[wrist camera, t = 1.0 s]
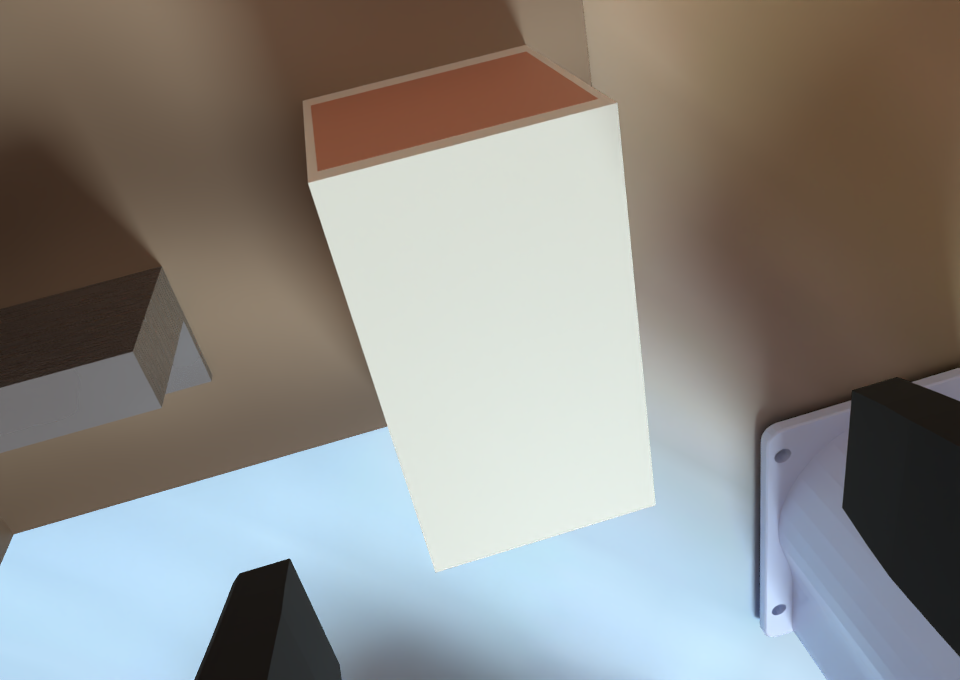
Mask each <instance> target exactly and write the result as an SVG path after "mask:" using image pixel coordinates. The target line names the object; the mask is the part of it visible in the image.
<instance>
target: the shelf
mask: <svg viewBox="0 0 960 680" xmlns="http://www.w3.org/2000/svg"><path fill="white" fill-rule="evenodd" d="M523 45H527V46H528V47H530V48H531V49H533V50H534V51H536V52H538V53H539V54H541V55H542V56H544V57H546V58H547V59H549V60H550V61H552V62H554V63H555V64H557V65H558V66H560V67H561V68H563V69H565V70H566V71H568V72H569V73H571V74H573V75H574V76H576V77H577V78H579V79H580V80H582V81H584V82H585V83H587V84H588V85H590V86H592V82H591V73H590V64H589V55H588V47H587V38H586V29H585V20H584V11H583V2H582V0H0V309H2V308H6V307H9V306H13V305H17V304H21V303H25V302H28V301H32V300H36V299H40V298H43V297H47V296H51V295H55V294H59V293H62V292H66V291H70V290H74V289H77V288H81V287H85V286H89V285H93V284H96V283H100V282H104V281H108V280H112V279H115V278H119V277H123V276H127V275H130V274H134V273H138V272H142V271H146V270H149V269H153V268H157V267H161V266H162V267H163V270H164V272H165V274H166V276H167V278H168V280H169V283H170V285H171V287H172V289H173V291H174V293H175V296H176V298H177V300H178V302H179V304H180V306H181V308H182V311H183V313H184V315H185V317H186V319H187V321H188V324H189V326H190V328H191V330H192V332H193V334H194V337H195V339H196V341H197V343H198V345H199V347H200V350H201V352H202V354H203V356H204V358H205V360H206V362H207V365H208V367H209V369H210V371H211V373H212V375H213V376H212V381H211V382H208V383H204V384H200V385H197V386H193V387H190V388H186V389H183V390H179V391H175V392H172V393H168V394H165V397H164V401H163V405H162V408H160V409H156V410H153V411H149V412H145V413H142V414H138V415H135V416H131V417H128V418H124V419H120V420H117V421H113V422H110V423H106V424H103V425H99V426H95V427H92V428H88V429H85V430H81V431H78V432H74V433H70V434H67V435H63V436H60V437H56V438H53V439H49V440H45V441H42V442H38V443H35V444H31V445H28V446H24V447H20V448H17V449H13V450H10V451H6V452H3V453H0V564H1V562H2V560H3V557H4V555H5V553H6V550H7V548H8V546H9V544H10V541H11V539H12V537H13V534H16V533H20V532H23V531H27V530H30V529H34V528H37V527H40V526H44V525H47V524H51V523H54V522H58V521H61V520H65V519H68V518H72V517H75V516H79V515H82V514H85V513H89V512H92V511H96V510H99V509H103V508H106V507H110V506H113V505H117V504H120V503H124V502H127V501H131V500H134V499H137V498H141V497H144V496H148V495H151V494H155V493H158V492H162V491H165V490H169V489H172V488H176V487H179V486H182V485H186V484H189V483H193V482H196V481H200V480H203V479H207V478H210V477H214V476H217V475H221V474H224V473H227V472H231V471H234V470H238V469H241V468H245V467H248V466H252V465H255V464H259V463H262V462H266V461H269V460H272V459H276V458H279V457H283V456H286V455H290V454H293V453H297V452H300V451H304V450H307V449H311V448H314V447H317V446H321V445H324V444H328V443H331V442H335V441H338V440H342V439H345V438H349V437H352V436H356V435H359V434H362V433H366V432H369V431H373V430H376V429H380V428H383V427H387V423H386V420H385V417H384V414H383V411H382V408H381V404H380V401H379V398H378V395H377V392H376V389H375V386H374V383H373V380H372V377H371V374H370V371H369V368H368V365H367V362H366V359H365V356H364V353H363V350H362V346H361V343H360V340H359V337H358V334H357V331H356V328H355V325H354V322H353V319H352V316H351V313H350V310H349V307H348V304H347V301H346V298H345V295H344V292H343V289H342V285H341V282H340V279H339V276H338V273H337V270H336V267H335V264H334V261H333V258H332V255H331V252H330V249H329V246H328V243H327V240H326V237H325V234H324V231H323V227H322V224H321V221H320V218H319V215H318V212H317V209H316V206H315V203H314V200H313V197H312V194H311V191H310V188H309V185H308V176H307V161H306V146H305V131H304V116H303V101H304V100H308V99H312V98H316V97H320V96H324V95H328V94H332V93H336V92H340V91H344V90H348V89H352V88H356V87H360V86H364V85H367V84H371V83H375V82H379V81H383V80H387V79H391V78H395V77H399V76H403V75H407V74H411V73H415V72H419V71H423V70H427V69H431V68H435V67H439V66H443V65H447V64H451V63H455V62H459V61H463V60H467V59H471V58H475V57H479V56H483V55H487V54H491V53H495V52H499V51H503V50H507V49H511V48H515V47H519V46H523Z"/></svg>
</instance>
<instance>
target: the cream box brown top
mask: <svg viewBox="0 0 960 680" xmlns="http://www.w3.org/2000/svg"><path fill="white" fill-rule="evenodd" d="M303 116H304V131H305V146H306V161H307V176H308V185H309V188H310V191H311V194H312V197H313V200H314V203H315V206H316V209H317V212H318V215H319V218H320V221H321V224H322V227H323V231H324V234H325V237H326V240H327V243H328V246H329V249H330V252H331V255H332V258H333V261H334V264H335V267H336V270H337V273H338V276H339V279H340V282H341V285H342V289H343V292H344V295H345V298H346V301H347V304H348V307H349V310H350V313H351V316H352V319H353V322H354V325H355V328H356V331H357V334H358V337H359V340H360V343H361V346H362V350H363V353H364V356H365V359H366V362H367V365H368V368H369V371H370V374H371V377H372V380H373V383H374V386H375V389H376V392H377V395H378V398H379V401H380V404H381V408H382V411H383V414H384V417H385V420H386V423H387V426H388V429H389V432H390V435H391V438H392V441H393V444H394V447H395V450H396V453H397V456H398V459H399V462H400V466H401V469H402V472H403V475H404V478H405V481H406V484H407V487H408V490H409V493H410V496H411V499H412V502H413V505H414V508H415V511H416V514H417V517H418V520H419V523H420V527H421V530H422V533H423V536H424V539H425V542H426V545H427V548H428V551H429V554H430V557H431V560H432V563H433V566H434V569H435V572H439V571H443V570H446V569H449V568H452V567H456V566H459V565H462V564H465V563H469V562H472V561H475V560H478V559H482V558H485V557H488V556H492V555H495V554H498V553H501V552H505V551H508V550H511V549H514V548H518V547H521V546H524V545H527V544H531V543H534V542H537V541H540V540H544V539H547V538H550V537H553V536H557V535H560V534H563V533H567V532H570V531H573V530H576V529H580V528H583V527H586V526H589V525H593V524H596V523H599V522H602V521H606V520H609V519H612V518H615V517H619V516H622V515H625V514H629V513H632V512H635V511H638V510H642V509H645V508H648V507H651V506H655V505H656V504H655V493H654V483H653V472H652V462H651V451H650V441H649V430H648V420H647V409H646V399H645V388H644V378H643V367H642V356H641V346H640V335H639V325H638V314H637V304H636V293H635V283H634V272H633V262H632V251H631V241H630V230H629V220H628V209H627V199H626V188H625V178H624V167H623V157H622V146H621V136H620V125H619V115H618V104H617V102H615V101H614V100H612V99H611V98H609V97H607V96H606V95H604V94H603V93H601V92H600V91H598V90H596V89H595V88H593V87H592V86H590V85H588V84H587V83H585V82H584V81H582V80H580V79H579V78H577V77H576V76H574V75H573V74H571V73H569V72H568V71H566V70H565V69H563V68H561V67H560V66H558V65H557V64H555V63H554V62H552V61H550V60H549V59H547V58H546V57H544V56H542V55H541V54H539V53H538V52H536V51H534V50H533V49H531V48H530V47H528V46H527V45H523V46H519V47H515V48H511V49H507V50H503V51H499V52H495V53H491V54H487V55H483V56H479V57H475V58H471V59H467V60H463V61H459V62H455V63H451V64H447V65H443V66H439V67H435V68H431V69H427V70H423V71H419V72H415V73H411V74H407V75H403V76H399V77H395V78H391V79H387V80H383V81H379V82H375V83H371V84H367V85H364V86H360V87H356V88H352V89H348V90H344V91H340V92H336V93H332V94H328V95H324V96H320V97H316V98H312V99H308V100H304V101H303Z"/></svg>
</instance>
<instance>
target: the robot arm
mask: <svg viewBox="0 0 960 680" xmlns="http://www.w3.org/2000/svg"><path fill="white" fill-rule="evenodd" d="M780 450H781V451H780ZM779 451H780V452H779ZM778 452H779V453H778ZM760 627H761V629H762V630H763V632H764V633H765V635H767V636H768V637H778V636H781V635H784V634H787V633H790V632H793V631H794V632H795V634H796V635H797V637H798V638H799V640H800V641H801V643H802V644H803V646H804V647H805V648H806V650H807V651H808V653H809V654H810V656H811V657H812V659H813V660H814V662H815V663H816V665H817V666H818V667H819V669H820V670H821V672H822V673H823V675H824V676H825V678H826V679H827V680H960V368H957V369H953V370H950V371H947V372H943V373H940V374H937V375H933V376H930V377H927V378H923V379H920V380H917V381H913V382H909V381H906V380H903V379H900V378H897V377H896V378H893V379H889V380H886V381H883V382H879V383H876V384H873V385H869V386H866V387H862V388H859V389H856V390H852V399H851V400H850V401H847V402H844V403H840V404H837V405H834V406H830V407H827V408H824V409H821V410H817V411H814V412H811V413H807V414H804V415H801V416H797V417H794V418H791V419H787V420H784V421H781V422H777V423H775V424H773V425H771V426H769V427H768V428H767V429H766V430H765V432H764V433H763V435H762V438H761V510H760ZM194 680H342V679H341V672H340V665H339V662H338V660H337V658H336V656H335V654H334V652H333V650H332V647H331V645H330V643H329V641H328V639H327V637H326V635H325V632H324V630H323V628H322V626H321V624H320V622H319V620H318V617H317V615H316V613H315V611H314V609H313V607H312V605H311V602H310V600H309V598H308V596H307V594H306V592H305V590H304V587H303V585H302V583H301V581H300V579H299V577H298V575H297V572H296V570H295V568H294V566H293V564H292V562H291V560H290V559H286V560H283V561H280V562H276V563H273V564H270V565H266V566H263V567H260V568H256V569H253V570H250V571H246V572H243V573H240V574H239V575H238V576H237V578H236V579H235V581H234V582H233V585H232V587H231V590H230V592H229V595H228V598H227V600H226V603H225V605H224V608H223V610H222V613H221V616H220V618H219V621H218V623H217V626H216V628H215V631H214V633H213V636H212V638H211V641H210V643H209V646H208V648H207V651H206V653H205V655H204V658H203V660H202V663H201V665H200V667H199V670H198V672H197V675H196V677H195V679H194Z"/></svg>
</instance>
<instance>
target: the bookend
mask: <svg viewBox="0 0 960 680" xmlns="http://www.w3.org/2000/svg"><path fill="white" fill-rule="evenodd" d="M212 376H213V375H212V373H211V371H210V369H209V367H208V365H207V362H206V360H205V358H204V356H203V354H202V352H201V350H200V347H199V345H198V343H197V341H196V339H195V337H194V334H193V332H192V330H191V328H190V326H189V324H188V321H187V319H186V317H185V315H184V313H183V311H182V308H181V306H180V304H179V302H178V300H177V298H176V296H175V293H174V291H173V289H172V287H171V285H170V283H169V280H168V278H167V276H166V274H165V272H164V270H163V267H162V266H161V267H157V268H153V269H149V270H146V271H142V272H138V273H134V274H130V275H127V276H123V277H119V278H115V279H112V280H108V281H104V282H100V283H96V284H93V285H89V286H85V287H81V288H77V289H74V290H70V291H66V292H62V293H59V294H55V295H51V296H47V297H43V298H40V299H36V300H32V301H28V302H25V303H21V304H17V305H13V306H9V307H6V308H2V309H0V453H3V452H6V451H10V450H13V449H17V448H20V447H24V446H28V445H31V444H35V443H38V442H42V441H45V440H49V439H53V438H56V437H60V436H63V435H67V434H70V433H74V432H78V431H81V430H85V429H88V428H92V427H95V426H99V425H103V424H106V423H110V422H113V421H117V420H120V419H124V418H128V417H131V416H135V415H138V414H142V413H145V412H149V411H153V410H156V409H160V408H162V405H163V401H164V397H165V394H168V393H172V392H175V391H179V390H183V389H186V388H190V387H193V386H197V385H200V384H204V383H208V382H211V381H212Z"/></svg>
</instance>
